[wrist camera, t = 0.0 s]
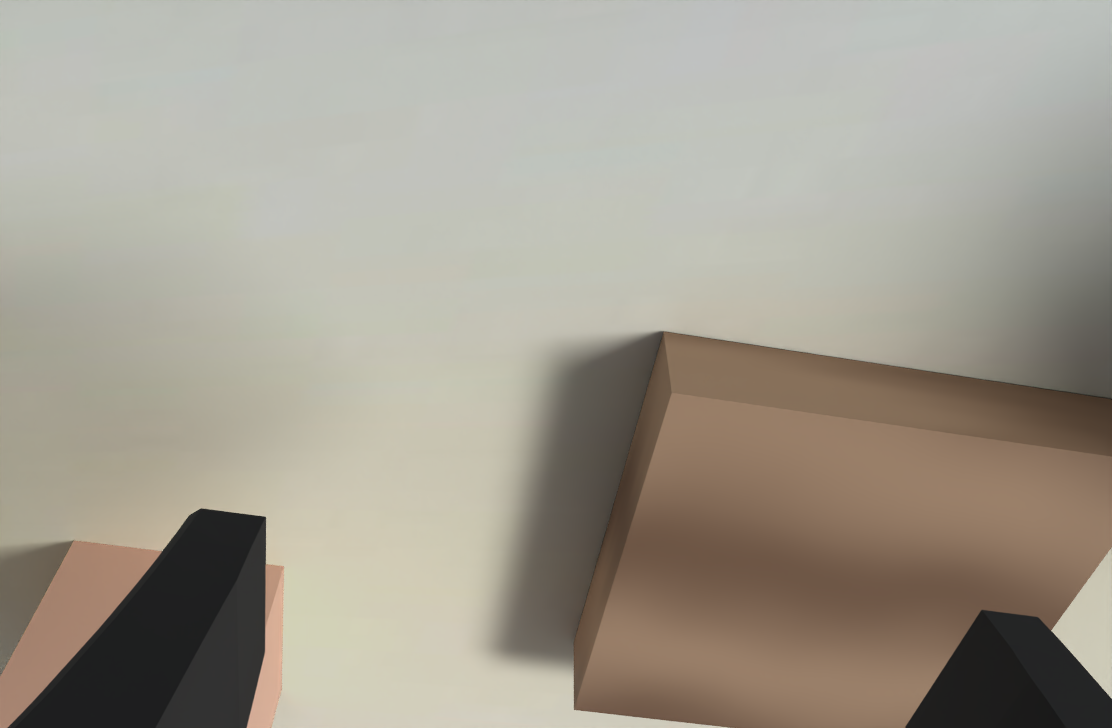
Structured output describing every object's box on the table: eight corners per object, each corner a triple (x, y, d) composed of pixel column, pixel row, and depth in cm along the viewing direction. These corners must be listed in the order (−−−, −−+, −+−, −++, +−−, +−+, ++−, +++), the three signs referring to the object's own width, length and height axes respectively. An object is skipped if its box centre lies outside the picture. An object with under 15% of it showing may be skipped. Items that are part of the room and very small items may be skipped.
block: (282, 687, 28) (221, 913, 23) (94, 666, 27) (-9, 893, 22) (284, 564, 25) (214, 794, 20) (74, 539, 24) (-50, 767, 19)
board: (938, 686, 27) (961, 753, 25) (573, 642, 26) (574, 709, 25) (1125, 400, 21) (1171, 464, 20) (663, 331, 20) (671, 393, 19)
